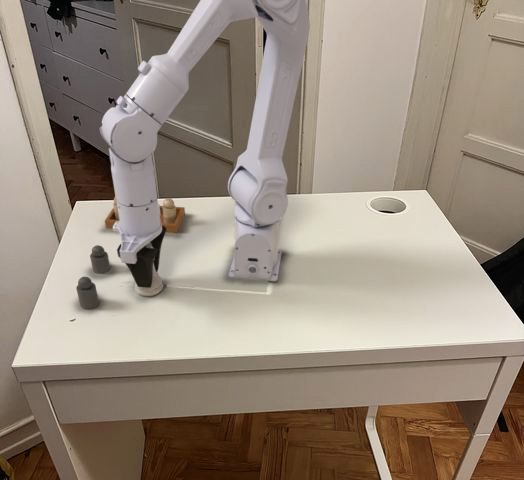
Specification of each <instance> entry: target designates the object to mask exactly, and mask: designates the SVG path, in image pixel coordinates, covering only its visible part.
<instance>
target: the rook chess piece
mask: <svg viewBox="0 0 524 480" xmlns="http://www.w3.org/2000/svg"><path fill="white" fill-rule="evenodd" d="M146 248H153V247H152V245H151V243H150V242H149V243H148V244H147V245H146ZM163 288H164V284H163V280H162V277H161V276H160V275H159V273H158V272H156V270H155V267H154V262H153V279H152V285H151V287H150V288H147V287H138V286H137V284H136V282H135V281H134V290H135V292H136V293H137V294H138V295H140V296H143V297H154V296H156V295H159V293H161V292H162V290H163Z"/></svg>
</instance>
